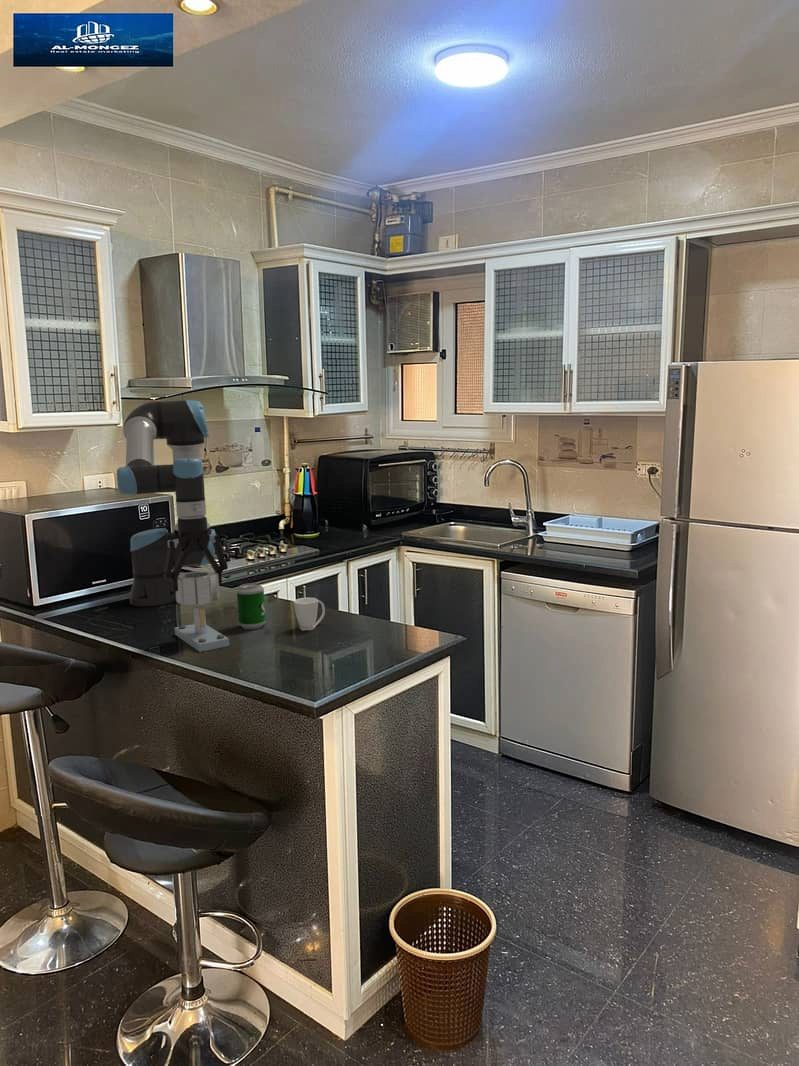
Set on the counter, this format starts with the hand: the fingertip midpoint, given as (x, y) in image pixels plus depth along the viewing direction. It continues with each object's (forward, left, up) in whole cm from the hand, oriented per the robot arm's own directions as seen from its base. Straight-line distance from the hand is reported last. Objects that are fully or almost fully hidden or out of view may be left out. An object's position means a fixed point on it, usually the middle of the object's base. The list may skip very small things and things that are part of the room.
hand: (198, 599), depth 211 cm
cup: (+8, +29, -12) cm, 32 cm away
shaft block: (0, 0, -11) cm, 11 cm away
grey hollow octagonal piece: (0, 0, 0) cm, 0 cm away
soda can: (-3, +16, -11) cm, 20 cm away
